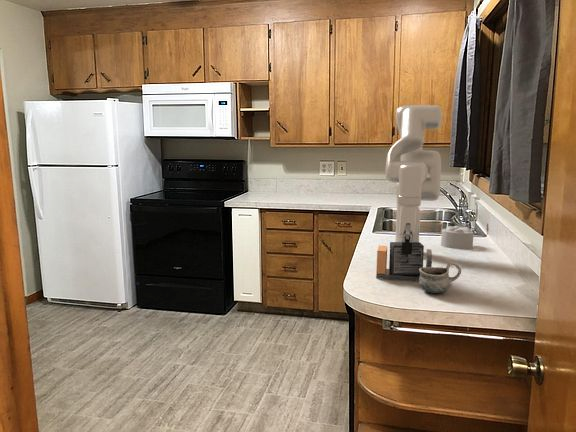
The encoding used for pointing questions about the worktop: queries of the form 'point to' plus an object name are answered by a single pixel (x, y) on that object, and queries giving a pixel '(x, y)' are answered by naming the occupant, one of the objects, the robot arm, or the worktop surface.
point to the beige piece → (457, 237)
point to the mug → (437, 278)
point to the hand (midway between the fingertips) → (406, 250)
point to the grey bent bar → (406, 277)
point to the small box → (405, 259)
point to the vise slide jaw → (381, 259)
